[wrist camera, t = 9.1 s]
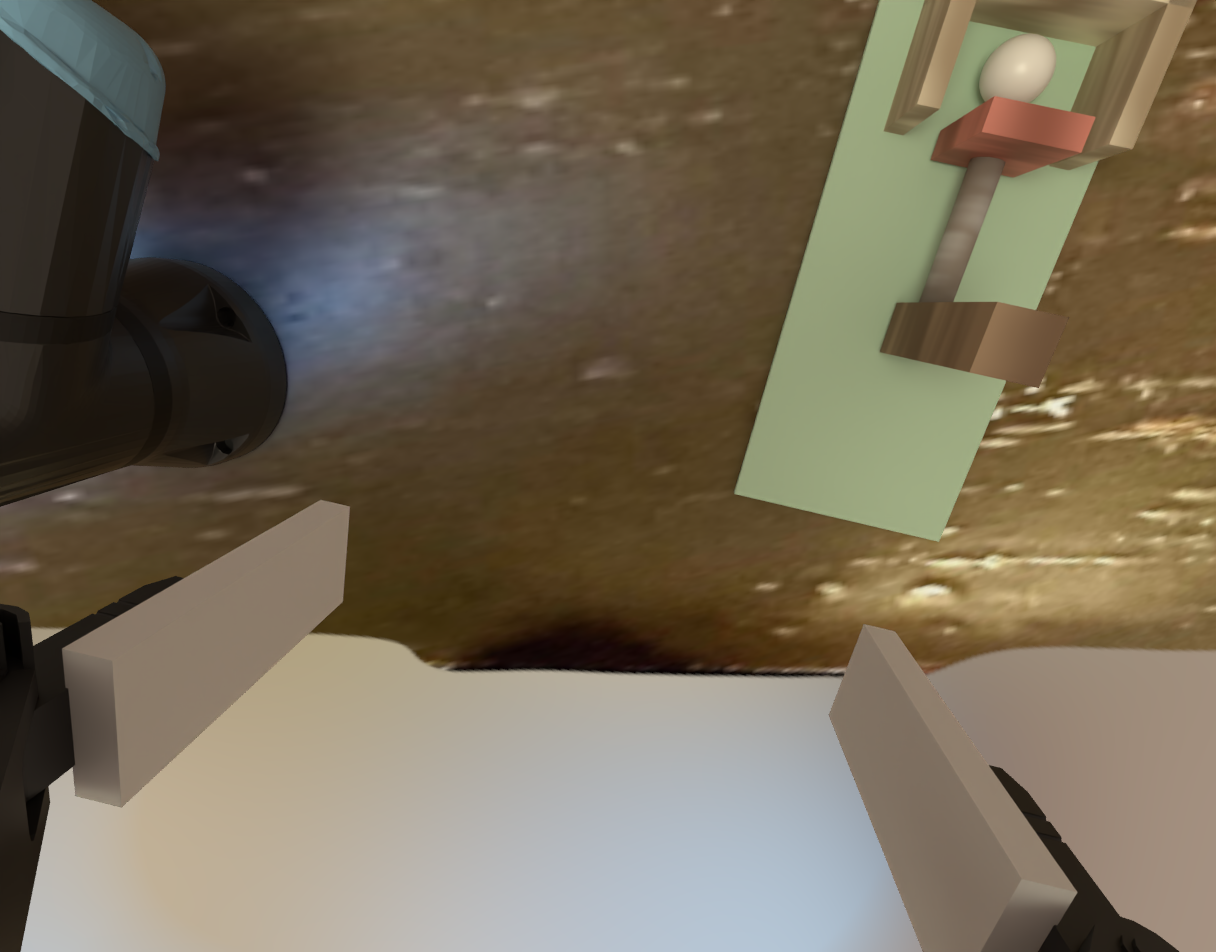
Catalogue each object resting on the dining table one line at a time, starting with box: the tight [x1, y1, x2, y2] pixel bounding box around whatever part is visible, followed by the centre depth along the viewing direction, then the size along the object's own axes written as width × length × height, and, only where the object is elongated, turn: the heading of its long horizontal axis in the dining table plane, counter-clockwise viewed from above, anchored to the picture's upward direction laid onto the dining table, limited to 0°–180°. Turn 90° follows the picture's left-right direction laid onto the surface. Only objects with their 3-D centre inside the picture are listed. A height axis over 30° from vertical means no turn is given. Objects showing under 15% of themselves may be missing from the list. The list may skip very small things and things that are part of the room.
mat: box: [734, 0, 1099, 542], centre depth 38 cm, size 15×32×1 cm, turn 168°
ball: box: [979, 33, 1056, 103], centre depth 32 cm, size 4×4×4 cm
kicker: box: [880, 96, 1096, 388], centre depth 31 cm, size 5×13×12 cm, turn 168°
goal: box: [884, 0, 1197, 170], centre depth 32 cm, size 11×7×5 cm, turn 78°
